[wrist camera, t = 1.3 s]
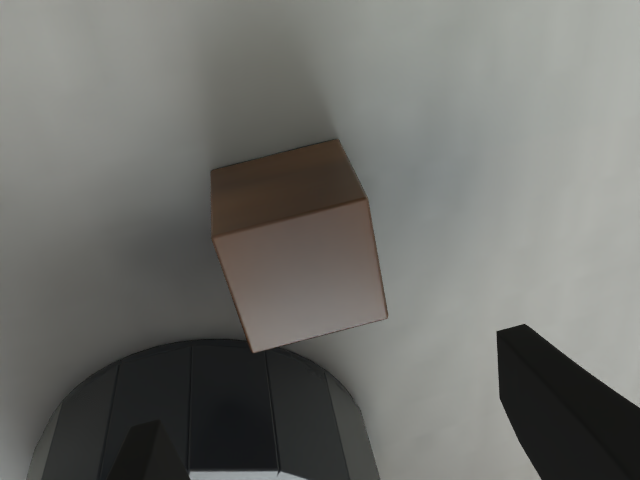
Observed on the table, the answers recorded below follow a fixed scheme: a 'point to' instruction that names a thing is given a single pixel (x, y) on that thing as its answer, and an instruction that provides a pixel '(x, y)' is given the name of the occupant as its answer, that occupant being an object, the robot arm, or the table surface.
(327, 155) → the block
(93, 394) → the pot
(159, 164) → the table surface
